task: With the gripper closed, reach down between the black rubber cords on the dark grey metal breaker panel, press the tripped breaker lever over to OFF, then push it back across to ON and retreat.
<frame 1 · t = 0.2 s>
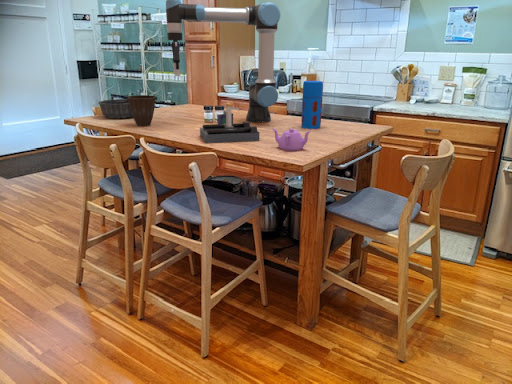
hand: (177, 75, 219), 28 cm above the table, fingers open, 13 cm apart
teapot: (290, 148, 184), on the table
plant pot: (144, 125, 233), on the table
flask: (225, 130, 222), on the table
breaker lever: (228, 116, 200), point 10 cm above the table, hinge at 0.0°
breaker panel: (229, 138, 203), on the table
bundt pan: (122, 117, 261), on the table
thermos: (310, 127, 233), on the table
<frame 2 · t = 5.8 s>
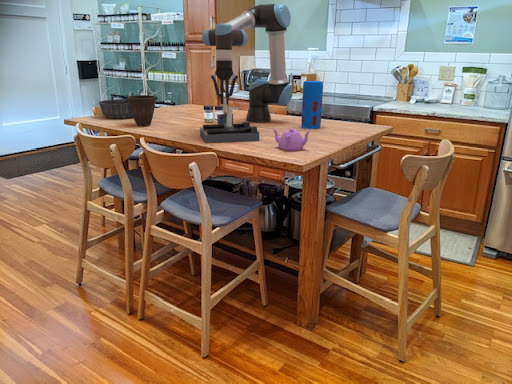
hand: (224, 111, 198), 13 cm above the table, fingers closed
breaker lever: (229, 116, 200), point 10 cm above the table, hinge at -3.0°, touching gripper
everything else where it was.
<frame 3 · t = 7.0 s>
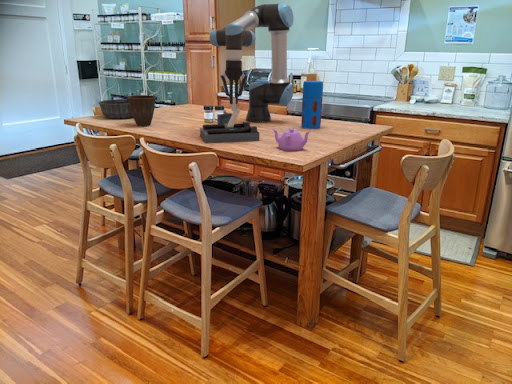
hand: (233, 110, 200), 13 cm above the table, fingers closed
breaker lever: (233, 117, 201), point 10 cm above the table, hinge at -26.0°, touching gripper
everything else where it was.
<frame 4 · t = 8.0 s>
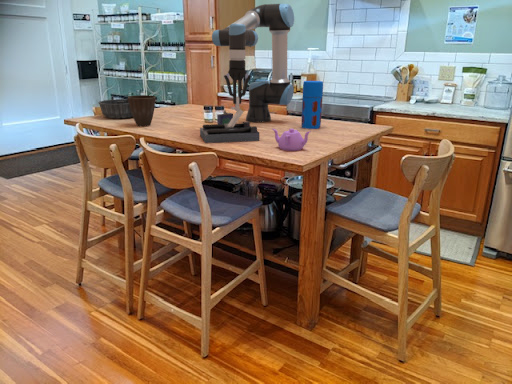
hand: (237, 110, 200), 13 cm above the table, fingers closed
breaker lever: (235, 118, 201), point 9 cm above the table, hinge at -35.1°, touching gripper
everything else where it was.
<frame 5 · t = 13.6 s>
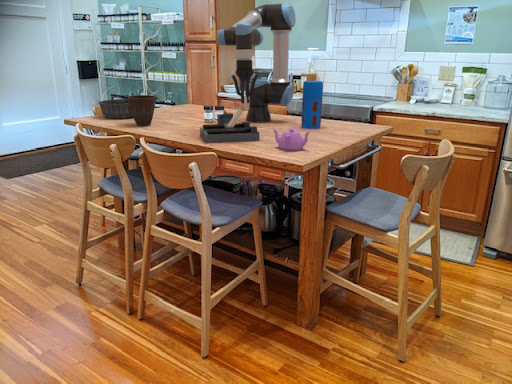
hand: (245, 110, 201), 13 cm above the table, fingers closed
breaker lever: (235, 118, 201), point 9 cm above the table, hinge at -34.4°, touching gripper
everything else where it was.
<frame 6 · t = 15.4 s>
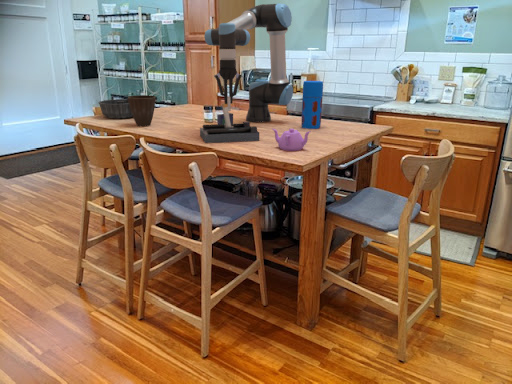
hand: (228, 110, 198), 13 cm above the table, fingers closed
breaker lever: (226, 117, 199), point 10 cm above the table, hinge at 10.1°, touching gripper
everything else where it was.
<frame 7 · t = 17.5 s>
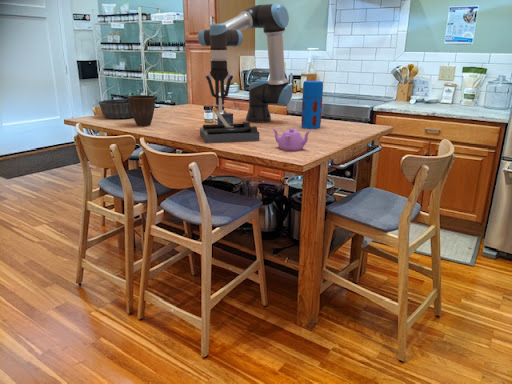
hand: (220, 111, 198), 13 cm above the table, fingers closed
breaker lever: (222, 119, 199), point 9 cm above the table, hinge at 35.6°, touching gripper
everything else where it was.
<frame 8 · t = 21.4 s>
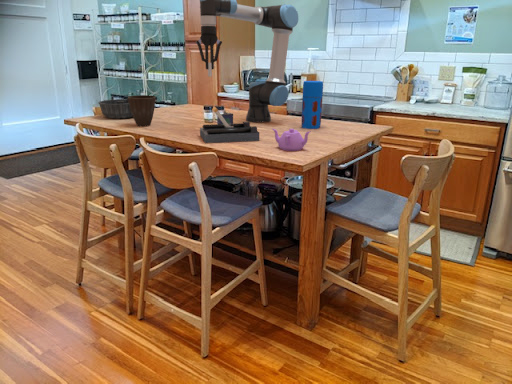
hand: (209, 76, 208), 28 cm above the table, fingers closed
breaker lever: (222, 119, 199), point 9 cm above the table, hinge at 35.7°
everything else where it was.
at the end: breaker lever at +36° (first picture: +0°) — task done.
